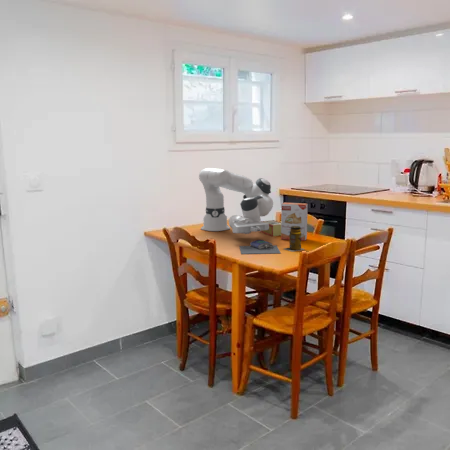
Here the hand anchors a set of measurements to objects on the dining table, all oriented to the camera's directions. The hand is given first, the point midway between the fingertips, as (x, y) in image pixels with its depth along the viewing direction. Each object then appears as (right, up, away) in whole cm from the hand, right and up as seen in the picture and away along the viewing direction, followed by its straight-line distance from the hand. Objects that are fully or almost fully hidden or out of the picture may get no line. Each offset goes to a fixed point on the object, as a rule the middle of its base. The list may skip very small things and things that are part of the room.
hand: (258, 229), depth 254 cm
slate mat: (0, -10, -7) cm, 12 cm away
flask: (0, -7, +3) cm, 7 cm away
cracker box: (+22, -6, +17) cm, 28 cm away
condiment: (+18, -10, -6) cm, 22 cm away
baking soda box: (+8, +2, +42) cm, 43 cm away
